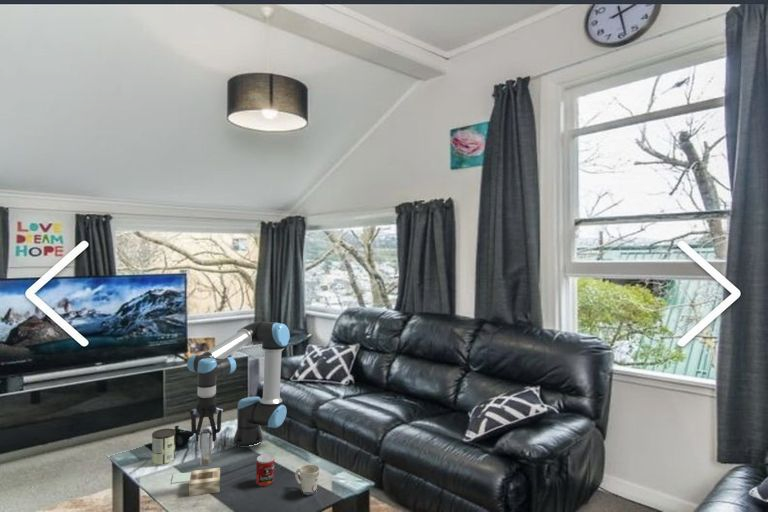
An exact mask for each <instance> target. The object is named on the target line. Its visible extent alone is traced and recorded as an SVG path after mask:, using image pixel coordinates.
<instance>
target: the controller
mask: <svg viewBox="0 0 768 512" xmlns="http://www.w3.org/2000/svg"><path fill="white" fill-rule="evenodd" d="M179 427H180V426H179V425H175V426H174V428H173V429H174V430H175V431H176V432H175V447H176V446H177V447H180V448H181V447H184V446H186V445H187V444H188V443H189V442H190V438H192V437H193V436H194V435H195V434H194V433H192V432H191V430H185V429H180V428H179ZM180 438H181V439H182V442H181V441H180Z"/></svg>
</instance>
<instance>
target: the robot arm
mask: <svg viewBox="0 0 768 512" xmlns="http://www.w3.org/2000/svg"><path fill="white" fill-rule="evenodd" d="M290 336H291V335H290V330H289V328H288V326H287V325H286V324H285V323H280V322H276V321H275V322H270V321H255V322H251V323H249V324H247V325H245V326H243V327H240V328H239V329H238V330H237V331H236V333H235V334H234V335H232V336H230V337H229V338H227V339H224V340H223V341H222V342H220V343H218V344H217V345H215V346H214V347H212V348H210V349H209V350H207V351H205V352H204V353H202V354H193V355H191V356H189V358H188V359H187V363H186V364H187V365H186V366H187V369H188V371H190V372H194V373H197V392H196V393H197V397H196V398H197V402H196V403H197V405H196V407H195V408H192V409H191V410H190V411H189V414H190V416H191V417H190V418H191V419H190V423H191V424H190V425H191V428H190V429H191V430H190V431H191V432H192V433H194V435H195V441H196V443H197V444H198V445H197V446H198V447H197V448H198V451H201V431H202V426H203V421H204V418H208V420H209V423H210V424H209V425H210V428H211V429H210V430H211V431H212V434H211V441H210V450H211V451H212V450H213V449H214V447H215V442H216V440H217V434H219V433H220V432H221V430H222V415H223V412H224V409H223V408H222V407H221V408H219V407H218V406H217V379H220V378H222V377H225V376H229V375H230V374H232V373H234V372H235V371H236V370H237V363H236V362H237V361H236V360H235V358H233V357H231V355H233V354H234V353H235V352H237V351H239V350H240V349H242V348H243V347H248V346H250V345H252V344H260V345H261V349H262V350H263V352H264V361H263V363H264V365H263V385H262V386H263V389H262V397H260V396H248V397H244V398H242V399H239V401H238V403H237V408H236V409H237V420H236V421H237V422H236V423H237V425H236V426H237V427H236V431H235V433H234V437H233V444H234V445H235V444H236V445H239V446H249V445H254V444H257V443H259V442H261V441H262V440H263V441H264V435H263V431H262V429H261V426H263V427H268V428H274V429H276V428H279V427H280V426H282V424H283V423H284V421H285V419H286V417H287V407H286V405H284V404H283V399H282V397H280V394H281V393H280V392H281V373H282V352H283V350H285V347H286V346H287V345H288V344H289V341H290V339H291V337H290ZM215 412H216V414H217V416H216V422H215V415H214V414H215ZM197 413H198V415H199V418H198V423H197ZM263 441H262V442H263ZM236 445H235V446H236ZM239 446H238V447H239Z"/></svg>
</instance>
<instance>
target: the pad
mask: <svg viewBox="0 0 768 512" xmlns="http://www.w3.org/2000/svg"><path fill="white" fill-rule="evenodd" d="M190 476H191V471H189V472H182V473H181V472H180V473H173V475H172V479H171V484H172V485H173V484H178V483H187V482H189V483H190Z"/></svg>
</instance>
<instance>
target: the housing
mask: <svg viewBox="0 0 768 512" xmlns="http://www.w3.org/2000/svg"><path fill="white" fill-rule="evenodd" d="M190 472H191V476H190V481H189V486H188V487H189V488H188V496H189V497H192V496H200V495H206V494H214V493H220V490H221V489H220V485H221V467H214V468H206V469H205V468H204V469H199V470H198V469H197V470H196V469H195V470H191V471H190Z"/></svg>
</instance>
